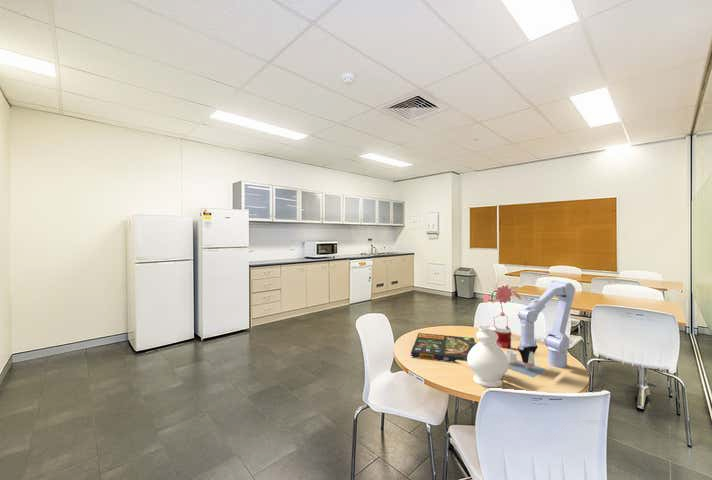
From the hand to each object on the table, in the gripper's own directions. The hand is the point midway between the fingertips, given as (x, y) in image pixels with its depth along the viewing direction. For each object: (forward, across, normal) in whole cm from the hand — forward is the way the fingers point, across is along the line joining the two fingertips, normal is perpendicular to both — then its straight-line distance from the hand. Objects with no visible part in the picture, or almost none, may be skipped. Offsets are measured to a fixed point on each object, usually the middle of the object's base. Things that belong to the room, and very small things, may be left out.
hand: (527, 360), depth 149 cm
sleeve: (+2, 0, 0) cm, 2 cm away
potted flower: (+6, +43, +34) cm, 55 cm away
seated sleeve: (+4, 0, +8) cm, 9 cm away
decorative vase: (+6, -24, +8) cm, 26 cm away
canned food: (+6, +22, +24) cm, 33 cm away
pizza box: (+6, -7, +44) cm, 45 cm away
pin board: (+6, 0, +4) cm, 7 cm away
